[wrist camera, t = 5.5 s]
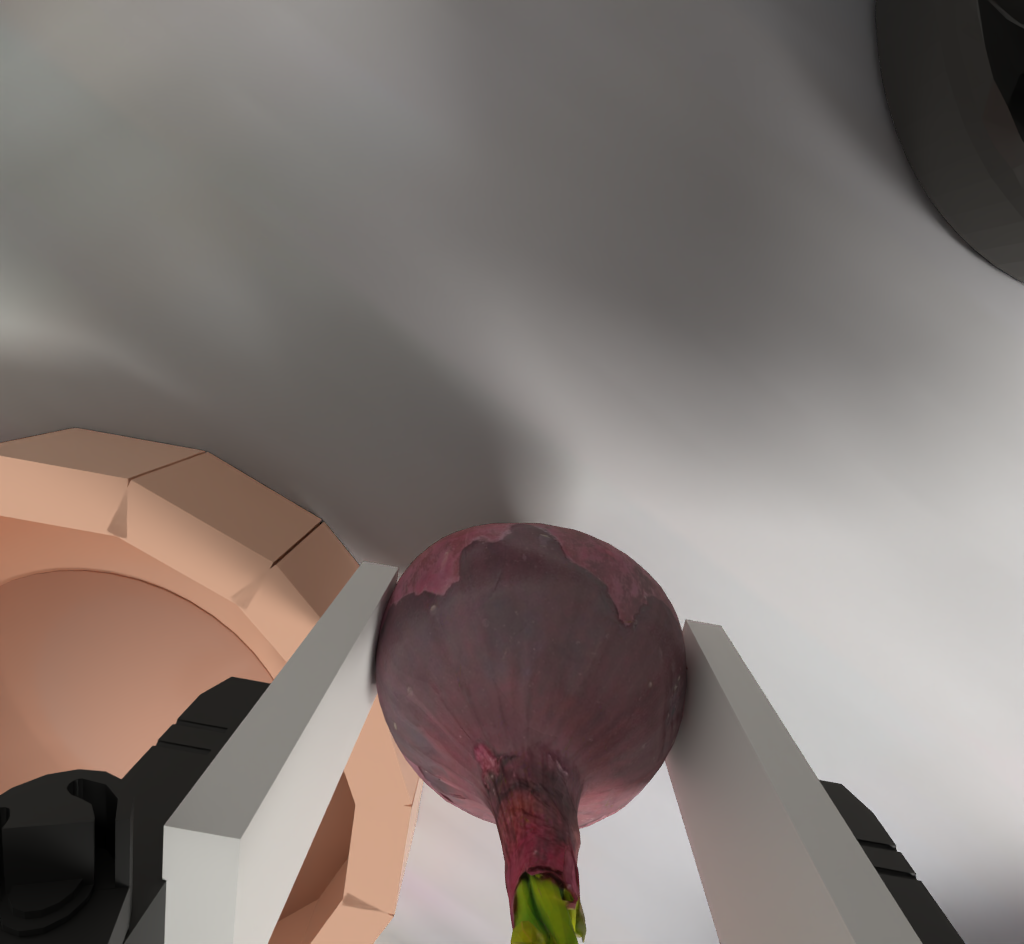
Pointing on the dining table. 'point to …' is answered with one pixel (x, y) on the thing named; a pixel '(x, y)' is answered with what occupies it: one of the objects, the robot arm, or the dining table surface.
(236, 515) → the dish
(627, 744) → the vegetable
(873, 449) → the dining table surface
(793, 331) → the dining table surface
